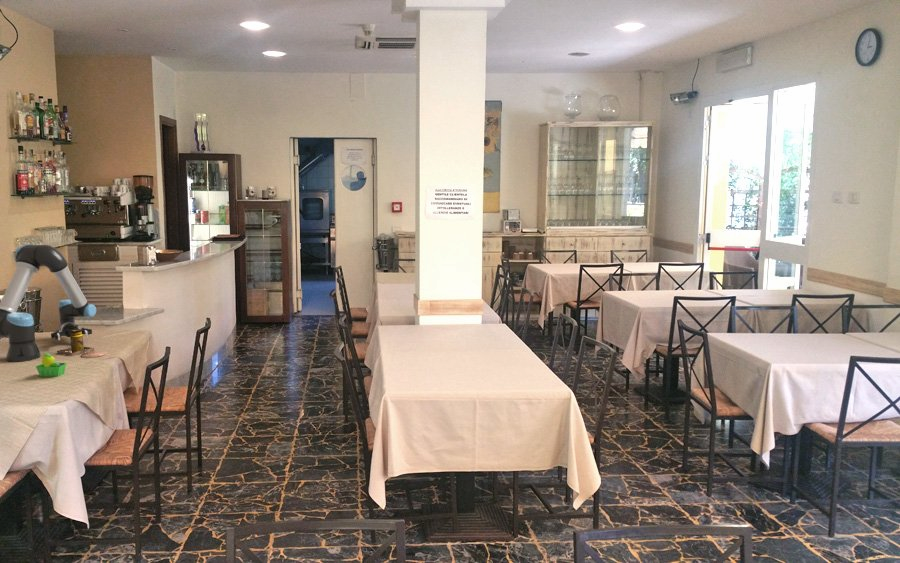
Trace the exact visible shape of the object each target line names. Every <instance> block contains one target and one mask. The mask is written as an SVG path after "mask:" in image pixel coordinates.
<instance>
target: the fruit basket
mask: <svg viewBox="0 0 900 563" xmlns="http://www.w3.org/2000/svg"><path fill="white" fill-rule="evenodd" d="M55 361H56V358H55V357H54V356H53V355H50V353H45V354H43V355H42V356H41V364H37V365H36V366H35V368H36V370H37V373H38V374H39V377H52V378H53V377H56V378H57V377H61V376H62V375H64V374H65V372H66V371H65V370H66V366H67V362H58V361H56V362H55Z"/></svg>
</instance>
